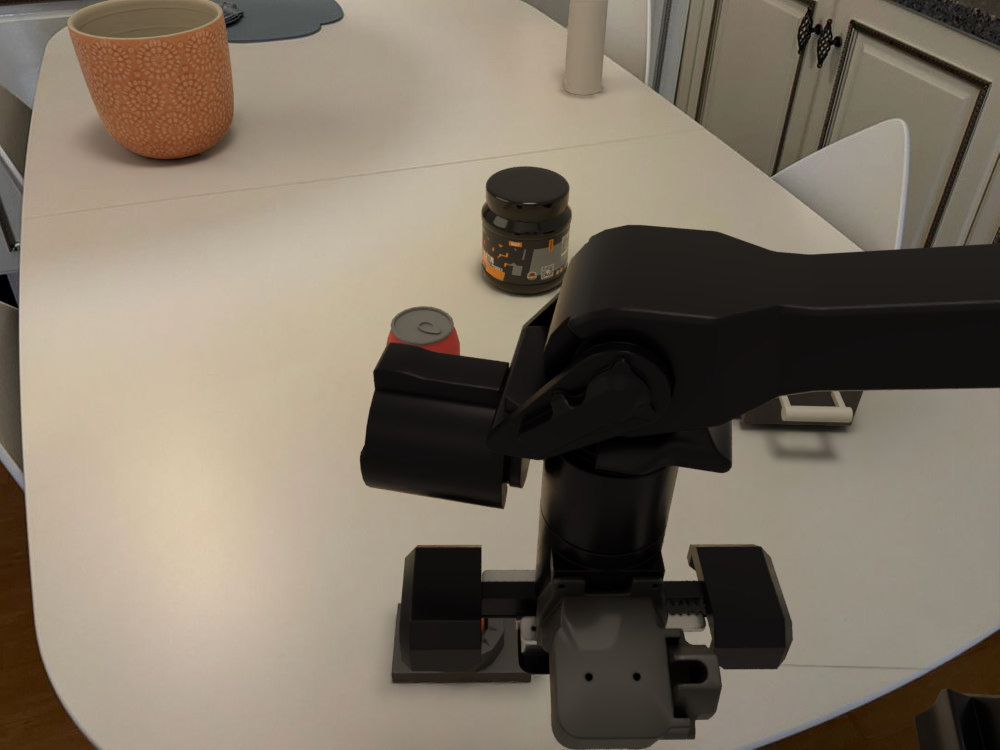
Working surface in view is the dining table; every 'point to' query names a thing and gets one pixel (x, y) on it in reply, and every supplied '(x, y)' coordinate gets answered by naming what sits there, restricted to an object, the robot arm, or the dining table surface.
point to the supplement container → (525, 229)
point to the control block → (493, 668)
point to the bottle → (585, 46)
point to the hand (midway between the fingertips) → (578, 694)
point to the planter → (157, 73)
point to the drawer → (808, 409)
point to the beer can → (425, 330)
